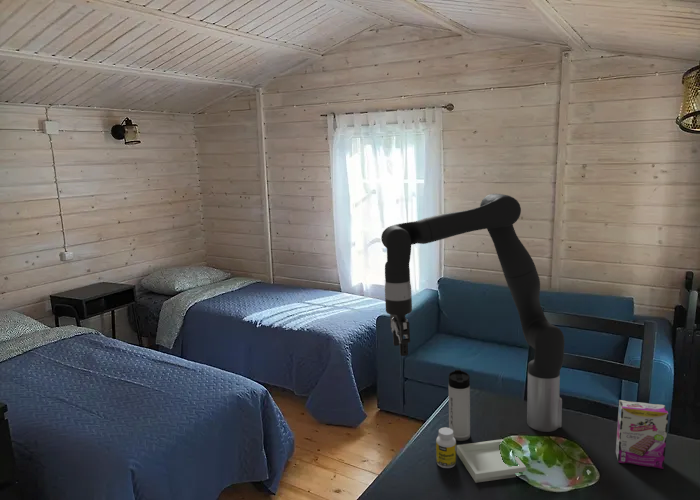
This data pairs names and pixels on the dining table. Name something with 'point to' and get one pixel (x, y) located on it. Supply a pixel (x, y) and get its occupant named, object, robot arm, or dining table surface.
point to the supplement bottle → (446, 448)
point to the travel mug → (459, 405)
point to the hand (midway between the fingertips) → (400, 350)
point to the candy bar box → (641, 434)
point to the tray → (487, 461)
